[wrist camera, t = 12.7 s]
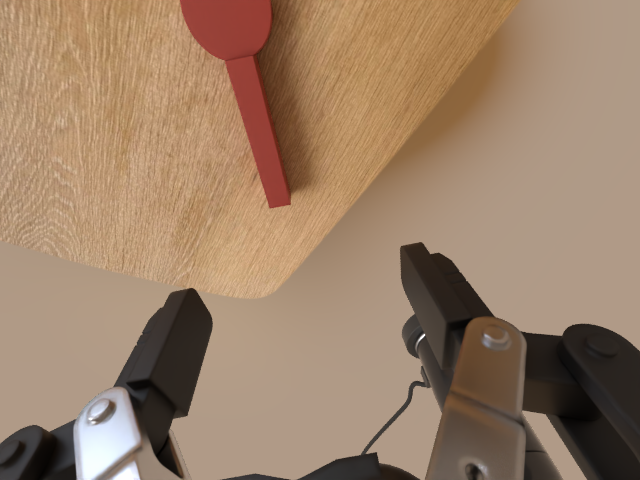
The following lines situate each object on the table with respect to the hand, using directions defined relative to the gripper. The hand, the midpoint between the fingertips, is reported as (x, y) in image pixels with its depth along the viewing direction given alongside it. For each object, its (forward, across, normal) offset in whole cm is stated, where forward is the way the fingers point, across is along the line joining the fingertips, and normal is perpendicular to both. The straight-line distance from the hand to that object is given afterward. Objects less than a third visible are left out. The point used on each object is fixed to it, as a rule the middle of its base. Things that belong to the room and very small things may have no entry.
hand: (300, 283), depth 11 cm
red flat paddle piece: (+20, +3, -4) cm, 21 cm away
